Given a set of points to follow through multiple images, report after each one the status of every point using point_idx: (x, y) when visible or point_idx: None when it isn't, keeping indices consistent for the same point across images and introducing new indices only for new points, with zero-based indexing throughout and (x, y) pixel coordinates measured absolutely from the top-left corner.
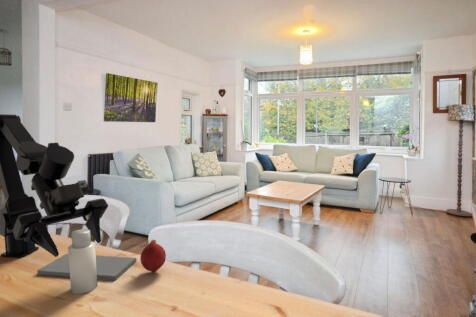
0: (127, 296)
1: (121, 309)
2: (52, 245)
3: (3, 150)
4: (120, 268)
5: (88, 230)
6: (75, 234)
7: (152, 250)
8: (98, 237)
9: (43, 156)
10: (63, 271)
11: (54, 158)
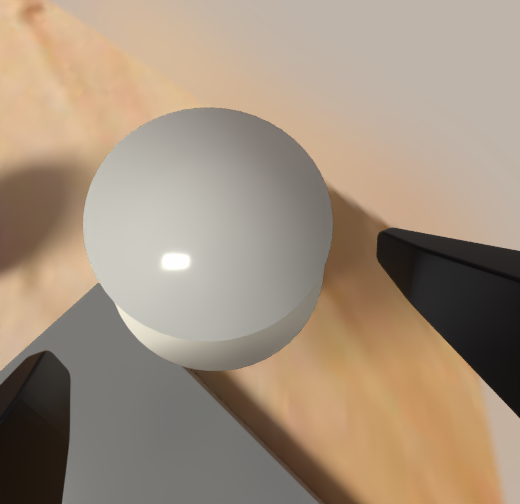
0: (115, 144)
1: (158, 88)
2: (462, 248)
3: None
4: None
5: (105, 217)
6: (289, 148)
7: None
8: (28, 374)
9: None
10: (290, 487)
11: None
